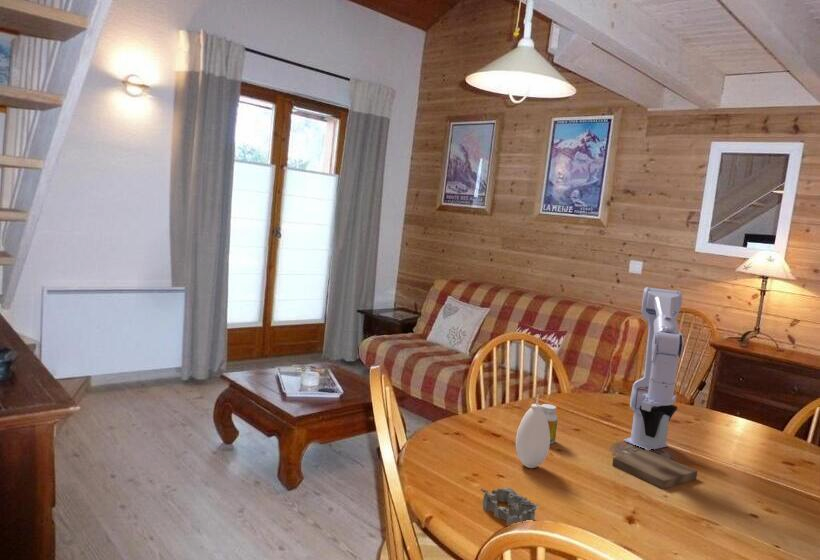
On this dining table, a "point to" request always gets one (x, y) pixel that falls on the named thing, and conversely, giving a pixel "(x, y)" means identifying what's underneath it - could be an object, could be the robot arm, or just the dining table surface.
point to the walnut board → (654, 469)
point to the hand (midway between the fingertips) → (654, 434)
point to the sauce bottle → (533, 437)
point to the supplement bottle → (551, 420)
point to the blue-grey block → (660, 435)
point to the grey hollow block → (509, 505)
